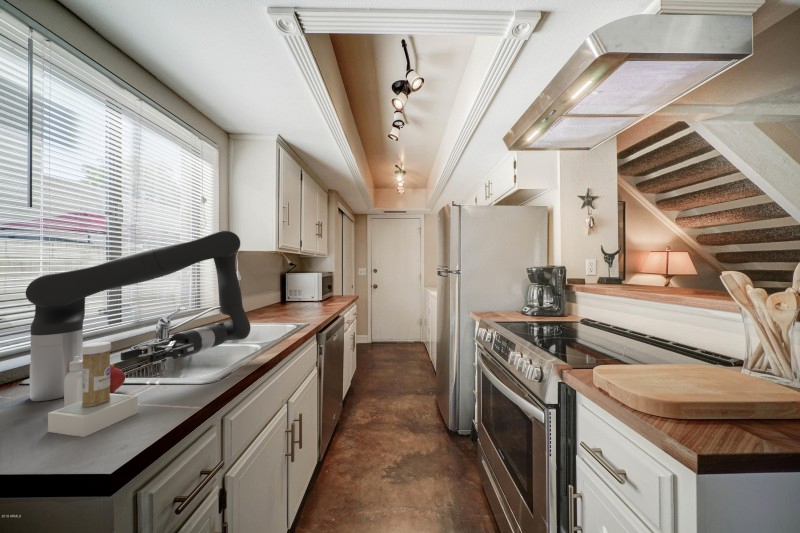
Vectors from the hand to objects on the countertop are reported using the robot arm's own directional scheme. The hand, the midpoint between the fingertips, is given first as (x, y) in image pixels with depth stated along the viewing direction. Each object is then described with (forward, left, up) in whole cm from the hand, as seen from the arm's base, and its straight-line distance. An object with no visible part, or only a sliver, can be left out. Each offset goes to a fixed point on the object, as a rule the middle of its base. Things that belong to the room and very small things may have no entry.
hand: (134, 357), depth 72 cm
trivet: (0, -8, -12) cm, 14 cm away
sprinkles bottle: (0, -8, -8) cm, 11 cm away
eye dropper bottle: (-16, -2, -12) cm, 20 cm away
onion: (-14, +4, -12) cm, 19 cm away
